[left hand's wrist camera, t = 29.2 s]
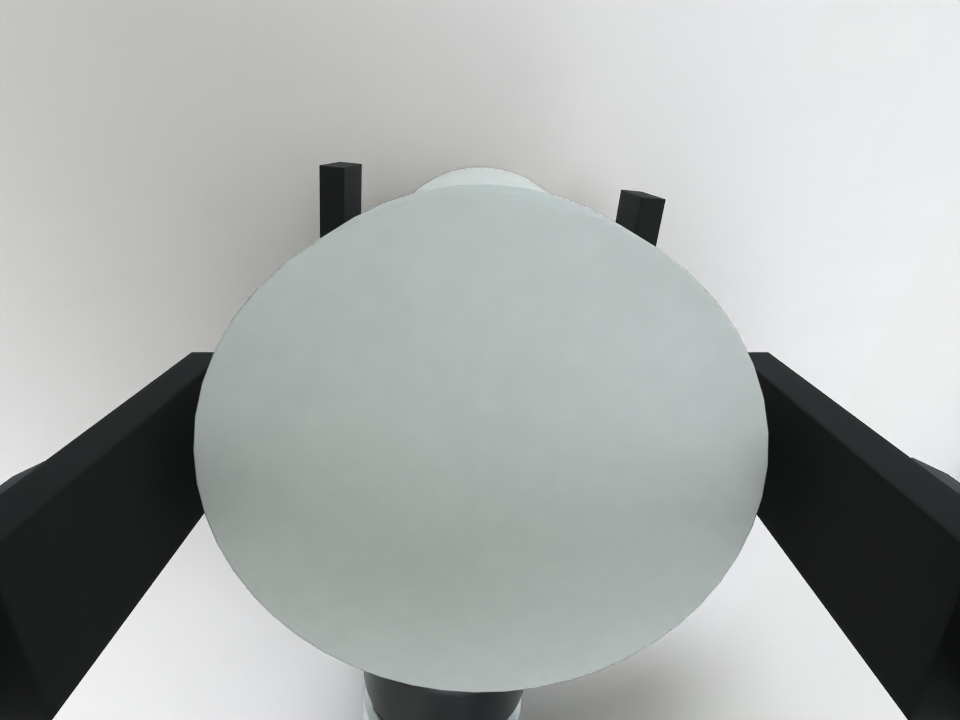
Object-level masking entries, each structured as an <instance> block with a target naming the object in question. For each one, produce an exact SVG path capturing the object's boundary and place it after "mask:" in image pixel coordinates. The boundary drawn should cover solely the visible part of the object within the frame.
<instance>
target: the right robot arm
mask: <svg viewBox="0 0 960 720" xmlns="http://www.w3.org/2000/svg"><path fill="white" fill-rule="evenodd" d="M361 175H362V164H356V163H346V162H337V163H331V164H325V165H320V238H322V237H323V236H325V235H327V234H328V233H330V232H331V231H333V230H335V229H336V228H338V227H339V226H341V225H342V224H344V223H346V222H347V221H349V220H350V219H352V218H354V217H356V216H358V215H360V214H361ZM664 204H665V199H662V198H659V197H656V196H653V195H650V194H647V193H644V192H639V191H629V190H621V194H620V200H619V206H618V211H617V217H616V223H618V224H619V225H621V226H623V227H624V228H626V229H628V230H629V231H631V232H632V233H634V234H636V235H637V236H639V237H641V238H642V239H644V240H645V241H647V242H649V243H650V244H652V245H653V246H655V247H656V243H657V238H658V233H659V228H660V224H661V219H662V214H663V209H664ZM364 677H365V684H364V707H363V720H519V715H520V709H521V701H522V693H523V689H521V690H513V691H503V692H463V691H448V690H439V689H433V688H427V687H420V686H414V685H410V684H406V683H402V682H398V681H394V680H391V679H387V678H383V677H380V676H377V675H375V674H372V673H369V672H367V671H364Z"/></svg>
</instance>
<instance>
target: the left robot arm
mask: <svg viewBox="0 0 960 720" xmlns="http://www.w3.org/2000/svg"><path fill="white" fill-rule="evenodd" d="M213 354H214V352H192V353H190V354H189V355H188V356H186V357H185V358H184V359H182V360H181V361H179V362H178V363H177V364H175V365H174V366H173V367H171V368H170V369H169V370H167V371H166V372H165V373H163V374H162V375H161V376H159V377H158V378H157V379H155V380H154V381H153V382H151V383H150V384H148V385H147V386H146V387H144V388H143V389H142V390H140V391H139V392H138V393H136V394H135V395H134V396H132V397H131V398H130V399H128V400H127V401H126V402H124V403H123V404H121V405H120V406H119V407H117V408H116V409H115V410H113V411H112V412H111V413H109V414H108V415H107V416H105V417H104V418H103V419H101V420H100V421H99V422H97V423H96V424H95V425H93V426H92V427H90V428H89V429H88V430H86V431H85V432H84V433H82V434H81V435H80V436H78V437H77V438H76V439H74V440H73V441H72V442H70V443H69V444H68V445H66V446H65V447H64V448H62V449H61V450H59V451H58V452H57V453H55V454H54V455H53V456H51V457H50V458H49V459H47V460H46V461H44V462H42V463H40V464H38V465H36V466H34V467H32V468H29V469H27V470H25V471H23V472H21V473H19V474H17V475H15V476H13V477H11V478H10V479H9V480H7V481H6V482H5V483H3V484H2V485H0V720H52V719H53V718H54V716H55V715H56V714H57V712H58V711H59V710H60V708H61V707H62V706H63V704H64V703H65V702H66V700H67V699H68V697H69V696H70V695H71V693H72V692H73V691H74V689H75V688H76V687H77V685H78V684H79V683H80V681H81V680H82V678H83V677H84V676H85V674H86V673H87V672H88V670H89V669H90V668H91V666H92V665H93V664H94V662H95V661H96V659H97V658H98V657H99V655H100V654H101V653H102V651H103V650H104V649H105V647H106V646H107V645H108V643H109V642H110V640H111V639H112V638H113V636H114V635H115V634H116V632H117V631H118V630H119V628H120V627H121V625H122V624H123V623H124V621H125V620H126V619H127V617H128V616H129V615H130V613H131V612H132V611H133V609H134V608H135V606H136V605H137V604H138V602H139V601H140V600H141V598H142V597H143V596H144V594H145V593H146V592H147V590H148V589H149V587H150V586H151V585H152V583H153V582H154V581H155V579H156V578H157V577H158V575H159V574H160V573H161V571H162V570H163V568H164V567H165V566H166V564H167V563H168V562H169V560H170V559H171V558H172V556H173V555H174V554H175V552H176V551H177V549H178V548H179V547H180V545H181V544H182V543H183V541H184V540H185V539H186V537H187V536H188V534H189V533H190V532H191V530H192V529H193V528H194V526H195V525H196V524H197V522H198V521H199V520H200V518H201V517H202V515H203V514H204V509H203V505H202V501H201V497H200V493H199V489H198V486H197V480H196V470H195V460H194V451H193V450H194V431H195V415H196V411H197V406H198V401H199V396H200V392H201V387H202V382H203V380H204V377H205V375H206V372H207V369H208V367H209V364H210V362H211V359H212V356H213ZM748 354H749V356H750V358H751V360H752V362H753V365H754V368H755V371H756V374H757V378H758V381H759V384H760V388H761V391H762V394H763V398H764V404H765V412H766V419H767V426H768V466H767V472H766V478H765V483H764V489H763V495H762V499H761V502H760V505H759V508H758V511H757V515H758V517H759V518H760V520H761V521H762V522H763V524H764V525H765V526H766V528H767V529H768V530H769V532H770V533H771V534H772V536H773V537H774V539H775V540H776V541H777V543H778V544H779V545H780V547H781V548H782V549H783V551H784V552H785V554H786V555H787V556H788V558H789V559H790V560H791V562H792V563H793V564H794V566H795V567H796V568H797V570H798V571H799V573H800V574H801V575H802V577H803V578H804V579H805V581H806V582H807V583H808V585H809V586H810V587H811V589H812V590H813V592H814V593H815V594H816V596H817V597H818V598H819V600H820V601H821V602H822V604H823V605H824V606H825V608H826V609H827V611H828V612H829V613H830V615H831V616H832V617H833V619H834V620H835V621H836V623H837V624H838V625H839V627H840V628H841V630H842V631H843V632H844V634H845V635H846V636H847V638H848V639H849V640H850V642H851V643H852V645H853V646H854V647H855V649H856V650H857V651H858V653H859V654H860V655H861V657H862V658H863V659H864V661H865V662H866V664H867V665H868V666H869V668H870V669H871V670H872V672H873V673H874V674H875V676H876V677H877V678H878V680H879V681H880V683H881V684H882V685H883V687H884V688H885V689H886V691H887V692H888V693H889V695H890V696H891V697H892V699H893V700H894V702H895V703H896V704H897V706H898V707H899V708H900V710H901V711H902V712H903V714H904V715H905V716H906V718H907V719H908V720H960V483H959V482H958V481H956V480H955V479H954V478H952V477H951V476H949V475H948V474H946V473H944V472H942V471H940V470H938V469H936V468H934V467H931V466H929V465H927V464H925V463H923V462H921V461H919V460H917V459H915V458H910V457H909V456H907V455H906V454H905V453H903V452H902V451H901V450H899V449H898V448H896V447H895V446H894V445H892V444H891V443H890V442H888V441H887V440H886V439H884V438H883V437H882V436H880V435H879V434H878V433H876V432H875V431H874V430H872V429H871V428H870V427H868V426H867V425H865V424H864V423H863V422H861V421H860V420H859V419H857V418H856V417H855V416H853V415H852V414H851V413H849V412H848V411H847V410H845V409H844V408H843V407H841V406H840V405H839V404H837V403H836V402H834V401H833V400H832V399H830V398H829V397H828V396H826V395H825V394H824V393H822V392H821V391H820V390H818V389H817V388H816V387H814V386H813V385H812V384H810V383H809V382H807V381H806V380H805V379H803V378H802V377H801V376H799V375H798V374H797V373H795V372H794V371H793V370H791V369H790V368H789V367H787V366H786V365H785V364H783V363H782V362H781V361H779V360H778V359H776V358H775V357H774V356H772V355H771V354H770V353H768V352H748Z"/></svg>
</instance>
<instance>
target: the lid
mask: <svg viewBox="0 0 960 720" xmlns="http://www.w3.org/2000/svg"><path fill="white" fill-rule="evenodd" d="M193 451H194V460H195V470H196V480H197V486H198V489H199V493H200V497H201V501H202V505H203V509H204V513H205V516H206V518H207V520H208V523H209V525H210V528H211V530H212V532H213V535H214V537H215V540H216V542H217V544H218V546H219V547H220V549H221V551H222V552H223V554H224V556H225V558H226V559H227V561H228V563H229V564H230V566H231V568H232V569H233V571H234V572H235V573H236V575H237V576H238V577H239V579H240V580H241V581H242V582H243V584H244V585H245V586H246V588H247V589H248V590H249V591H250V593H251V594H252V595H253V596H254V597H255V598H256V599H257V600H258V601H259V602H260V603H261V604H262V605H263V606H264V607H265V608H266V609H267V610H268V611H269V612H270V613H271V614H272V615H273V616H274V617H275V618H276V619H278V620H279V621H280V622H281V623H283V624H284V625H285V626H286V627H288V628H289V629H290V630H291V631H293V632H294V633H295V634H296V635H298V636H299V637H301V638H302V639H304V640H305V641H307V642H309V643H310V644H312V645H313V646H315V647H317V648H318V649H320V650H321V651H323V652H324V653H326V654H329V655H331V656H333V657H335V658H337V659H339V660H341V661H343V662H345V663H347V664H349V665H351V666H353V667H356V668H358V669H361V670H364V671H367V672H369V673H372V674H375V675H377V676H380V677H383V678H387V679H391V680H394V681H398V682H402V683H406V684H410V685H414V686H420V687H427V688H433V689H439V690H448V691H463V692H503V691H513V690H521V689H530V688H537V687H542V686H546V685H551V684H555V683H560V682H565V681H568V680H571V679H575V678H578V677H581V676H584V675H587V674H590V673H593V672H596V671H599V670H601V669H603V668H605V667H608V666H610V665H612V664H615V663H617V662H619V661H622V660H624V659H626V658H628V657H629V656H631V655H633V654H635V653H636V652H638V651H640V650H642V649H644V648H645V647H647V646H649V645H651V644H652V643H654V642H655V641H656V640H658V639H659V638H661V637H662V636H663V635H665V634H666V633H668V632H669V631H670V630H672V629H673V628H675V627H676V626H677V625H679V624H680V623H681V622H682V621H683V620H684V619H685V618H686V617H687V616H688V615H690V614H691V613H692V612H693V611H694V610H695V609H696V608H697V607H698V606H700V605H701V603H702V602H703V601H704V600H705V599H706V598H707V597H708V595H709V594H710V593H711V592H712V591H713V590H714V589H715V587H716V586H717V585H718V584H719V583H720V582H721V580H722V579H723V577H724V576H725V574H726V573H727V571H728V570H729V568H730V567H731V565H732V564H733V562H734V561H735V559H736V558H737V556H738V555H739V553H740V551H741V549H742V547H743V545H744V543H745V541H746V539H747V537H748V535H749V533H750V531H751V529H752V526H753V523H754V520H755V517H756V514H757V511H758V508H759V505H760V502H761V499H762V495H763V489H764V483H765V478H766V472H767V466H768V426H767V419H766V412H765V404H764V398H763V394H762V391H761V388H760V384H759V381H758V378H757V374H756V371H755V368H754V365H753V362H752V360H751V358H750V356H749V354H748V352H747V350H746V348H745V346H744V344H743V342H742V340H741V338H740V336H739V333H738V332H737V330H736V329H735V327H734V326H733V324H732V323H731V322H730V320H729V319H728V317H727V316H726V314H725V313H724V312H723V310H722V309H721V307H720V306H719V304H718V303H717V301H716V300H715V299H714V298H713V297H712V296H711V295H710V294H709V293H708V292H707V291H706V290H705V289H704V288H703V287H702V286H701V285H700V284H699V282H698V281H697V280H696V279H695V278H694V277H693V276H692V275H691V274H690V273H689V272H688V271H686V270H685V269H684V268H682V267H681V266H680V265H679V264H677V263H676V262H675V261H673V260H672V259H671V258H670V257H668V256H667V255H666V254H665V253H663V252H662V251H661V250H659V249H658V248H657V247H655V246H653V245H652V244H650V243H649V242H647V241H645V240H644V239H642V238H641V237H639V236H637V235H636V234H634V233H632V232H631V231H629V230H628V229H626V228H624V227H623V226H621V225H619V224H618V223H616V222H614V221H612V220H610V219H609V218H607V217H605V216H603V215H602V214H600V213H598V212H596V211H595V210H593V209H591V208H588V207H586V206H583V205H581V204H578V203H576V202H573V201H571V200H568V199H565V198H563V197H560V196H557V195H553V194H549V193H544V192H540V191H536V190H532V189H528V188H522V187H512V186H502V185H492V184H481V185H454V186H448V187H442V188H436V189H431V190H425V191H419V192H416V193H413V194H409V195H406V196H403V197H400V198H397V199H394V200H391V201H388V202H385V203H383V204H381V205H378V206H376V207H374V208H372V209H370V210H368V211H366V212H364V213H362V214H360V215H358V216H356V217H354V218H352V219H350V220H349V221H347V222H346V223H344V224H342V225H341V226H339V227H338V228H336V229H335V230H333V231H331V232H330V233H328V234H327V235H325V236H323V237H322V238H320V239H319V240H317V241H316V242H314V243H313V244H311V245H310V246H308V247H307V248H305V249H304V250H302V251H301V252H300V253H298V254H297V255H295V256H294V257H292V258H291V259H289V260H288V261H286V262H285V263H284V264H283V265H282V266H281V267H280V268H279V269H278V270H277V271H275V272H274V273H273V274H272V275H271V276H270V277H269V278H268V279H267V280H266V281H265V282H263V283H262V284H261V285H260V286H259V287H258V288H257V289H256V290H255V292H254V293H253V294H252V295H251V297H250V298H249V299H248V300H247V302H246V303H245V304H244V305H243V307H242V308H241V309H240V310H239V312H238V313H237V314H236V315H235V317H234V318H233V319H232V321H231V323H230V325H229V326H228V328H227V330H226V332H225V333H224V335H223V337H222V339H221V340H220V342H219V344H218V345H217V347H216V349H215V351H214V354H213V356H212V359H211V362H210V364H209V367H208V369H207V372H206V375H205V377H204V380H203V382H202V387H201V392H200V396H199V401H198V406H197V411H196V415H195V431H194V450H193Z"/></svg>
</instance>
